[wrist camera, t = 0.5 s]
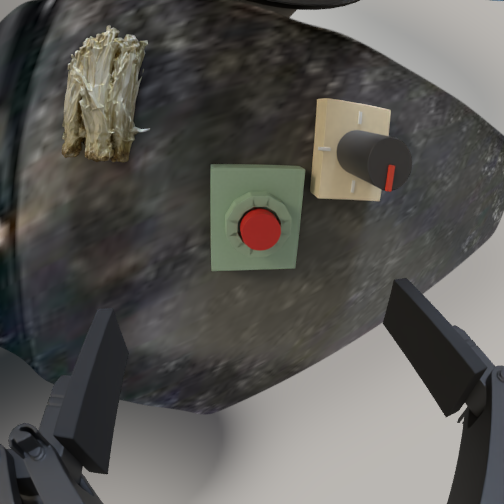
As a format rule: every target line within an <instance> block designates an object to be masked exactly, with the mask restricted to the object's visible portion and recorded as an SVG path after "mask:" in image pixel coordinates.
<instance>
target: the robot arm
mask: <svg viewBox="0 0 504 504" xmlns="http://www.w3.org/2000/svg"><path fill="white" fill-rule="evenodd" d="M492 1H504V0H492ZM383 324H384V326H385V327H386V329H387V330H388V331H389V333H390V334H391V335H392V337H393V338H394V340H395V341H396V343H397V344H398V345H399V347H400V348H401V350H402V351H403V352H404V354H405V356H406V357H407V358H408V360H409V361H410V363H411V364H412V366H413V367H414V369H415V370H416V372H417V373H418V375H419V376H420V378H421V379H422V381H423V382H424V384H425V385H426V387H427V388H428V390H429V391H430V393H431V394H432V396H433V397H434V399H435V401H436V402H437V404H438V405H439V407H440V408H441V410H442V412H443V413H444V415H445V416H446V417H448V416H450V415H451V414H454V413H456V412H457V411H459V410H460V408H461V407H462V405H463V404H464V403H466V404H467V406H468V407H467V408H466V410H465V411H464V412H463V414H462V415H461V416H460V417H459V419H458V422H457V423H460V421H461V420H462V419H463V417H464V422H463V432H462V439H461V444H460V450H459V456H458V461H457V466H456V471H455V475H454V479H453V483H452V487H451V491H450V495H449V499H448V502H447V504H504V366H496V367H495V366H494V365H493V363H491V361H490V360H489V359H488V358H487V356H486V355H485V354H484V353H483V352H482V351H481V350H480V348H479V347H478V346H476V344H475V342H474V341H473V340H471V339H470V337H469V336H468V335H467V334H466V332H465V331H463V330H462V329H460V328H459V327H457V326H452V325H451V324H450V323H449V322H448V321H447V320H446V319H445V318H444V317H443V316H442V314H441V313H440V312H439V311H438V310H437V309H436V308H435V307H434V306H433V305H432V304H431V303H430V302H429V301H428V300H427V299H426V298H425V297H424V295H423V294H422V293H421V292H420V291H419V290H418V289H417V288H416V287H415V286H414V285H413V284H412V283H411V282H410V281H409V280H408V279H407V278H402V279H396V280H394V282H393V286H392V290H391V295H390V299H389V302H388V306H387V310H386V314H385V318H384V321H383ZM128 355H129V352H128V350H127V347H126V344H125V342H124V339H123V336H122V333H121V331H120V328H119V325H118V322H117V319H116V316H115V313H114V310H113V308H110V309H98V310H97V312H96V314H95V317H94V319H93V321H92V324H91V326H90V329H89V331H88V333H87V336H86V338H85V341H84V343H83V346H82V348H81V351H80V354H79V356H78V359H77V362H76V364H75V367H74V370H73V373H72V375H71V376H67V375H62V376H61V377H60V378H59V379H58V380H57V382H56V383H55V384H54V386H53V389H52V392H51V397H49V400H48V405H47V406H46V409H45V412H44V415H43V418H42V421H41V424H40V427H39V430H37V429H36V428H35V427H34V426H33V425H31V424H26V423H23V424H20V425H18V426H16V427H15V428H14V429H13V430H12V432H11V433H10V435H9V440H8V441H9V447H10V448H11V449H5V448H4V447H3V446H2V445H1V444H0V504H103V503H102V501H101V500H100V499H99V497H98V496H97V495H96V493H95V492H94V490H93V489H92V487H91V486H90V484H89V483H88V481H87V480H86V478H85V476H83V474H82V467H83V466H84V467H85V468H86V469H87V470H88V471H89V472H94V473H101V474H108V467H109V459H110V452H111V445H112V438H113V432H114V426H115V419H116V414H117V408H118V403H119V397H120V392H121V387H122V382H123V377H124V373H125V368H126V363H127V359H128Z"/></svg>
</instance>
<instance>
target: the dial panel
mask: <svg viewBox="0 0 504 504" xmlns="http://www.w3.org/2000/svg"><path fill="white" fill-rule="evenodd" d="M390 114H391V110H388V109H384V108H379V107H374V106H369V105H364V104H359V103H353V102H348V101H342V100H335V99H329V98H324V99H317V110H316V125H315V138H314V151H313V163H312V174H311V184H310V192H311V193H312V194H314V195H315V196H316V197H317V198H320V199H347V200H367V201H380V196H381V189H379V188H377V187H375V186H374V185H372V184H370V183H368V182H366V181H364V180H362V179H360V178H358V177H356V176H354V175H352V174H350V173H348V172H346V171H345V170H344V169H343V168H342V167H341V166H340V164H339V162H338V159H337V146H338V143H339V141H340V139H341V138H342V137H343V136H344V135H345V134H346V133H348V132H350V131H353V130H361V131H366V132H371V133H376V134H381V135H385V136H389V125H390Z"/></svg>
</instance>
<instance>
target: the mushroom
mask: <svg viewBox="0 0 504 504" xmlns="http://www.w3.org/2000/svg"><path fill="white" fill-rule="evenodd" d="M110 28H111V26H110V25H108V26H107V28H106V29H107V32H105V33H102V34H97V35H96V36H97V37H96V38H93V37H92V36H91V37H90V38H87V39H86V40H85V42H83V47H80V51H76V52H75V59H74V57H73V56H74V55H72V54H71V57H73V58H72V60H71V63H70V64H68V69H70V71H69V73H68V83H67V91H66V95H65V105H64V121H63V125H62V126H63V127H64V128H65V132H64V133H63V139H65V143H64V144H63V147H62V154H63V155H64V157H65V158H67V157H76V156H78V155H79V153H80V151H81V150H82V145H81V142H83V144H84V145H85V147H86V148H85V157H86V158H88V160H93V161H96V162H99V161H108V160H110V159H111V161H112V162H116V161H118V162H123V163H124V162H127V161H128V159H129V154H130V153H129V152H130V147H131V144H132V142H133V141H135V138H134V136H135V135H136V134H137V133H139V132H145V131H149V130H150V129H139V128H140V127H139V128H137V127H135V124H134V122H133V120H134V112H135V104H136V97H137V94H138V90H139V85H140V81H141V79H142V77H141V79H140V80H139V81H138V74H139V70H140V67H141V64H142V61H143V58H144V55H145V52H144V49H145V46H146V45H148V42H147V41H140V42H139V41H138V40H137V39H136V37H135V36H134V35H129V34H127V35H126V37H125V38H124V39H122V38H117V37H118V33H120V32H119V31H118V30H116V29H115V28H112V29H111V30H110ZM143 71H144V69H143ZM142 74H143V73H142ZM149 128H150V127H149Z"/></svg>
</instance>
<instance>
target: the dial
mask: <svg viewBox="0 0 504 504" xmlns="http://www.w3.org/2000/svg"><path fill="white" fill-rule="evenodd" d="M337 159H338V162H339V164H340V166H341V167H342V168H343V169H344V170H345V171H346V172H348V173H350V174H352V175H354V176H356V177H358V178H360V179H362V180H364V181H366V182H368V183H370V184H372V185H374V186H375V187H377V188H379V189H381V190H385V191H390V192H391V191H392V190H395V189H398V188H399V187H401V186H402V185H403V184H404V183H405V182H406V180H407V179H408V177H409V175H410V172H411V168H412V157H411V154H410V151H409V149H408V147H407V146H406V145H405V143H404V142H402V141H401V140H400V139H397V138H394V137H390V136H385V135H381V134H376V133H371V132H366V131H361V130H353V131H350V132H348V133H346V134H345V135H344V136H343V137H342V138H341V139H340V141H339V143H338V146H337Z"/></svg>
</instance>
